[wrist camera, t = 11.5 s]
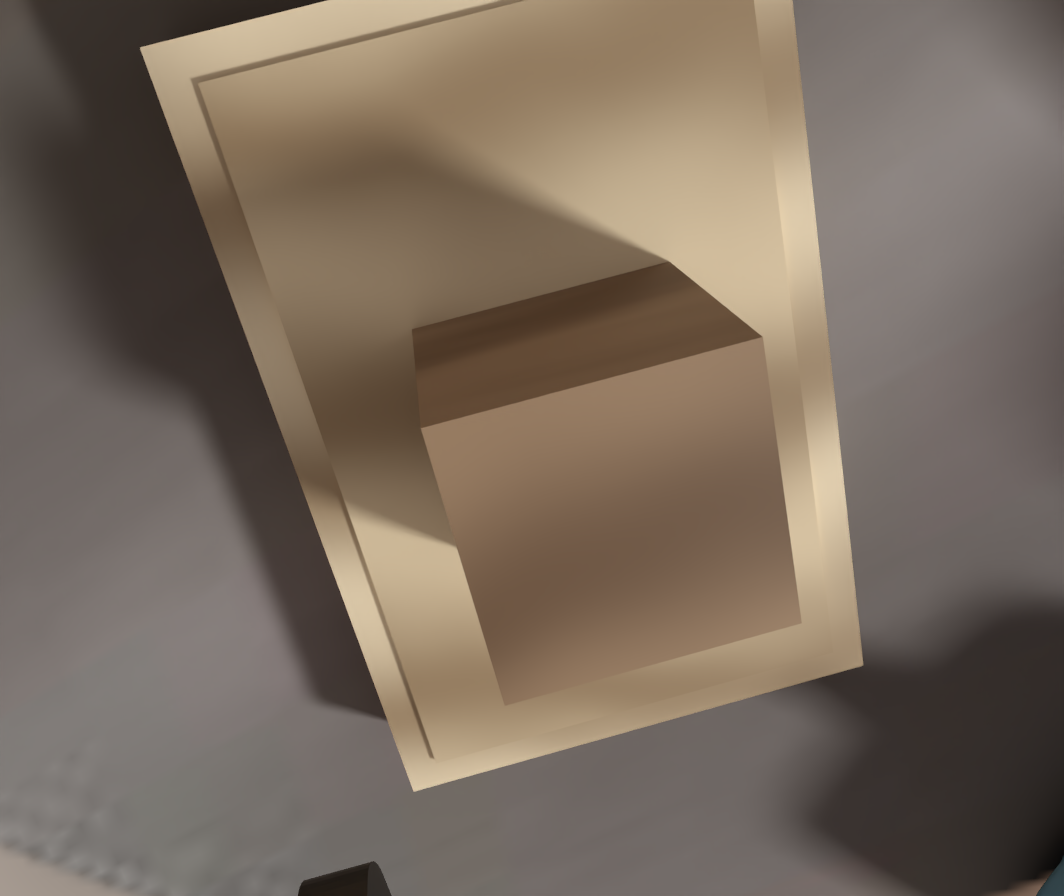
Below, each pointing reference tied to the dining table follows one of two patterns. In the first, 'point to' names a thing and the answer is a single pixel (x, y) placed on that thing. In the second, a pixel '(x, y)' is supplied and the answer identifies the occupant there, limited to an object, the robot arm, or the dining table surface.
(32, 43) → the dining table surface
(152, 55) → the plinth
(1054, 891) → the teapot
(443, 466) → the cube
